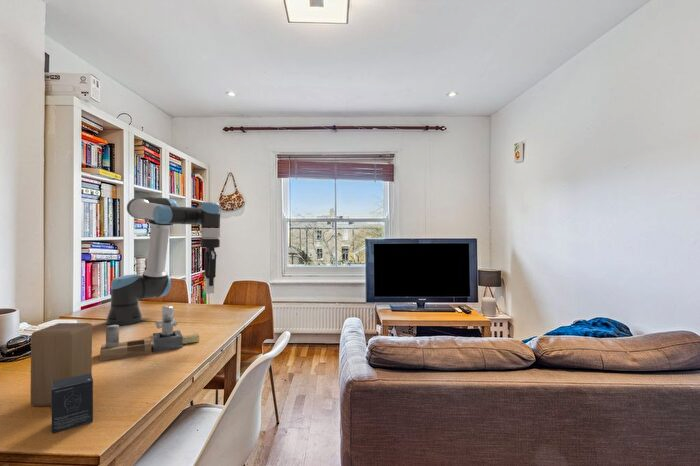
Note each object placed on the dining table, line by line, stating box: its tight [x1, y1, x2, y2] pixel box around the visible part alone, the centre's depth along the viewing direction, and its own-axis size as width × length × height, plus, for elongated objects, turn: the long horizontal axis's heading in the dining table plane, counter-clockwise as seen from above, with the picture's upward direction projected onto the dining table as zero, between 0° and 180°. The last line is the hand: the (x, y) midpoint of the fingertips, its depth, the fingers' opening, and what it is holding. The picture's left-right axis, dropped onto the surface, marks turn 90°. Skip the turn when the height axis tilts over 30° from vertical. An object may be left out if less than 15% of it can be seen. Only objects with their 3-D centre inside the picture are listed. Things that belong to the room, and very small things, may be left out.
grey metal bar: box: [161, 305, 174, 338], centre depth 141 cm, size 4×4×16 cm
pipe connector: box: [155, 318, 178, 329], centre depth 156 cm, size 10×10×10 cm
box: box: [50, 373, 94, 434], centre depth 85 cm, size 8×6×11 cm
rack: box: [99, 325, 152, 362], centre depth 132 cm, size 8×16×11 cm, turn 123°
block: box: [30, 322, 93, 407], centre depth 97 cm, size 10×10×20 cm
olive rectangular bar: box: [182, 333, 200, 345], centre depth 145 cm, size 3×8×2 cm, turn 123°
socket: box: [152, 329, 184, 353], centre depth 141 cm, size 10×10×4 cm
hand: (209, 292), depth 150 cm, fingers open, 3 cm apart
